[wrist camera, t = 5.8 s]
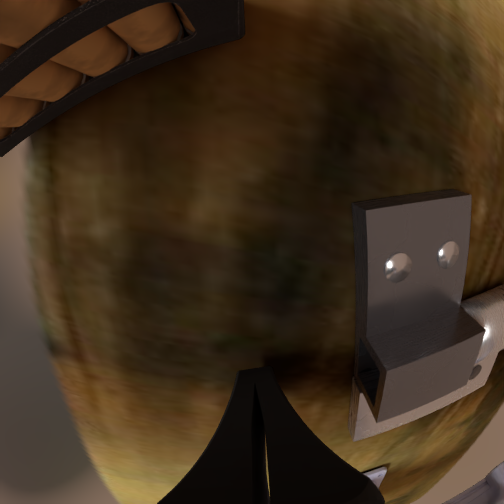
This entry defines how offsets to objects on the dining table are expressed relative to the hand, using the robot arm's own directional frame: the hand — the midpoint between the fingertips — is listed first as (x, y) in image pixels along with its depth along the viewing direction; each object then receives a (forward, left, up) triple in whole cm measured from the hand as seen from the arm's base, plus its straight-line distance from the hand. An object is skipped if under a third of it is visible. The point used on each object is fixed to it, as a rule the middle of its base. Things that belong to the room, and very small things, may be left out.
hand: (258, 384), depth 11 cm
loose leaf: (+2, -7, -1) cm, 7 cm away
